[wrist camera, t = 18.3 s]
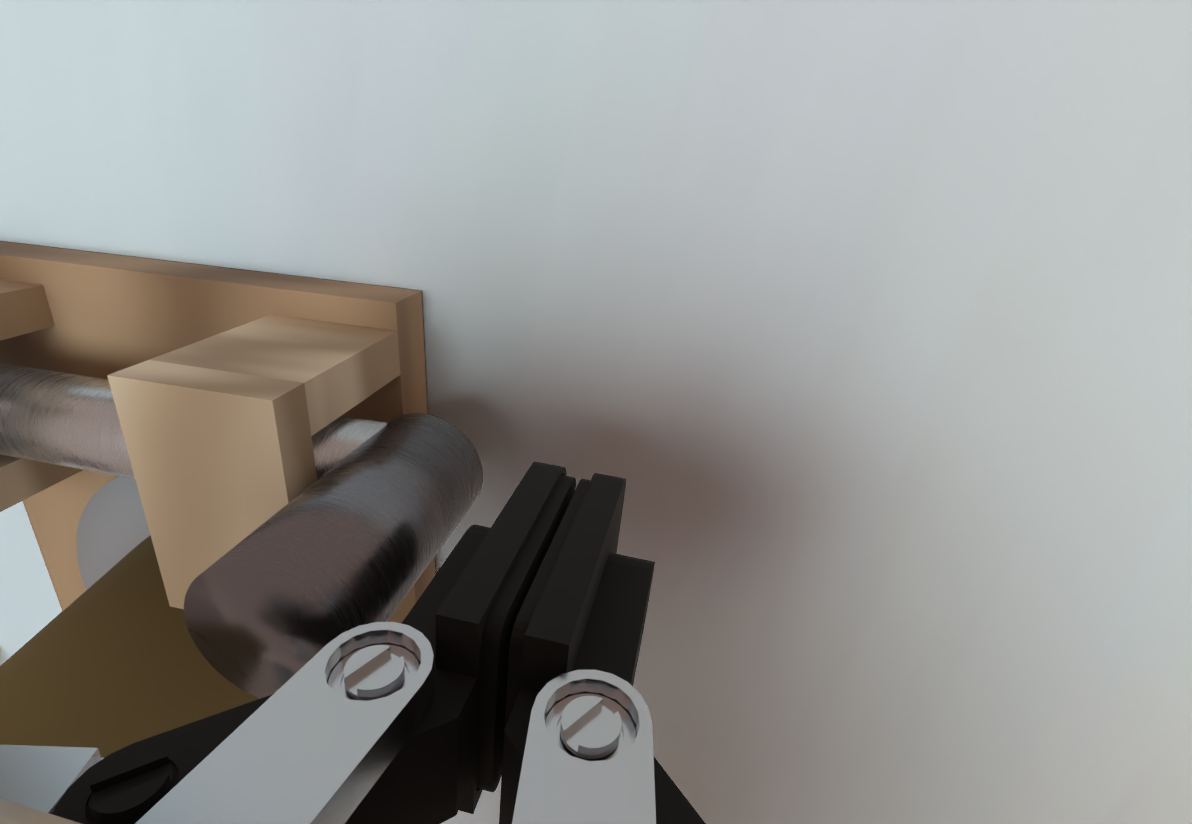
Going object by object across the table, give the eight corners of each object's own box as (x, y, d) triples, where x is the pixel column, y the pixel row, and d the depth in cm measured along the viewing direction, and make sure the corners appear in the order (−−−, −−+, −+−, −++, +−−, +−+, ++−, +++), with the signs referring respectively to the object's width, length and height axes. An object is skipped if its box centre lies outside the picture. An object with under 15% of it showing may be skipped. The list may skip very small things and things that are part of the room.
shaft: (491, 412, 13) (335, 585, 8) (491, 512, 14) (353, 722, 9) (-95, 325, 15) (-502, 415, 10) (-58, 416, 16) (-414, 539, 11)
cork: (325, 719, 19) (-143, 1375, 9) (147, 664, 19) (-468, 1210, 10) (316, 558, 16) (-362, 1231, 6) (111, 502, 17) (-780, 1019, 7)
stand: (421, 290, 14) (266, 364, 9) (443, 727, 20) (352, 907, 15) (-16, 238, 16) (-325, 279, 11) (118, 651, 22) (-51, 790, 17)
